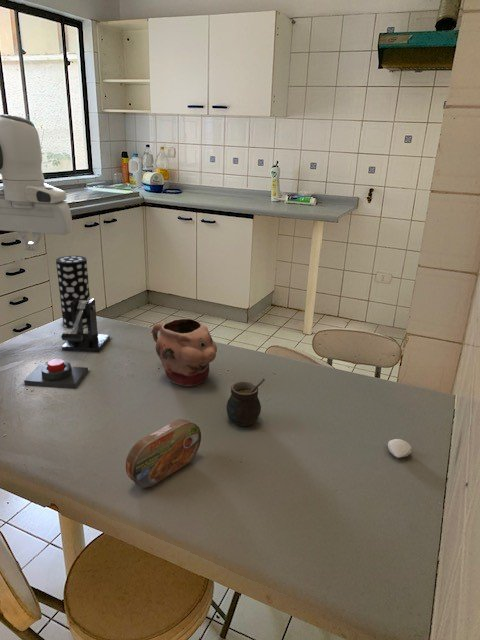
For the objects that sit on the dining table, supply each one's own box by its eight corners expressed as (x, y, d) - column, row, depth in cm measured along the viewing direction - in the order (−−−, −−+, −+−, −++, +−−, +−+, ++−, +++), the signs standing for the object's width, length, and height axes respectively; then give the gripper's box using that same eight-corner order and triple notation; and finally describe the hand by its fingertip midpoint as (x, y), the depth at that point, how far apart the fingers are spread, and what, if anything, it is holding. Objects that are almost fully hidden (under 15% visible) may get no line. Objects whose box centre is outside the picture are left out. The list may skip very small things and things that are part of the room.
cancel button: (45, 371, 107) (44, 365, 107) (52, 364, 111) (51, 358, 110) (60, 372, 107) (59, 366, 107) (66, 365, 111) (66, 359, 110)
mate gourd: (222, 412, 100) (224, 371, 96) (257, 409, 101) (259, 368, 97) (229, 432, 93) (230, 388, 89) (265, 428, 95) (268, 386, 91)
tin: (135, 497, 76) (132, 455, 73) (123, 487, 78) (121, 446, 74) (202, 455, 86) (202, 416, 83) (191, 447, 88) (191, 409, 85)
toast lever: (82, 342, 118) (79, 337, 116) (63, 341, 118) (60, 336, 116) (95, 306, 125) (92, 300, 123) (76, 305, 125) (74, 299, 123)
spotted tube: (97, 323, 141) (92, 259, 134) (72, 331, 135) (65, 264, 128) (82, 316, 146) (76, 254, 139) (58, 323, 140) (50, 258, 133)
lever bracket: (99, 352, 123) (95, 307, 118) (62, 350, 124) (56, 305, 119) (109, 338, 132) (106, 296, 127) (75, 336, 132) (70, 294, 127)
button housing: (24, 385, 107) (22, 373, 105) (40, 368, 114) (39, 357, 113) (75, 388, 106) (74, 377, 105) (88, 371, 113) (87, 360, 112)
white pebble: (410, 450, 90) (413, 440, 89) (408, 466, 85) (410, 455, 85) (388, 444, 91) (390, 433, 90) (384, 459, 87) (386, 448, 86)
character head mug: (134, 374, 113) (131, 321, 108) (166, 355, 123) (165, 307, 118) (200, 399, 104) (200, 343, 99) (229, 377, 114) (231, 325, 108)
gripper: (-27, 190, 105) (-18, 249, 110) (61, 196, 104) (66, 256, 109) (-11, 187, 111) (-3, 244, 116) (72, 193, 110) (77, 250, 115)
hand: (31, 250), depth 113 cm, fingers closed
